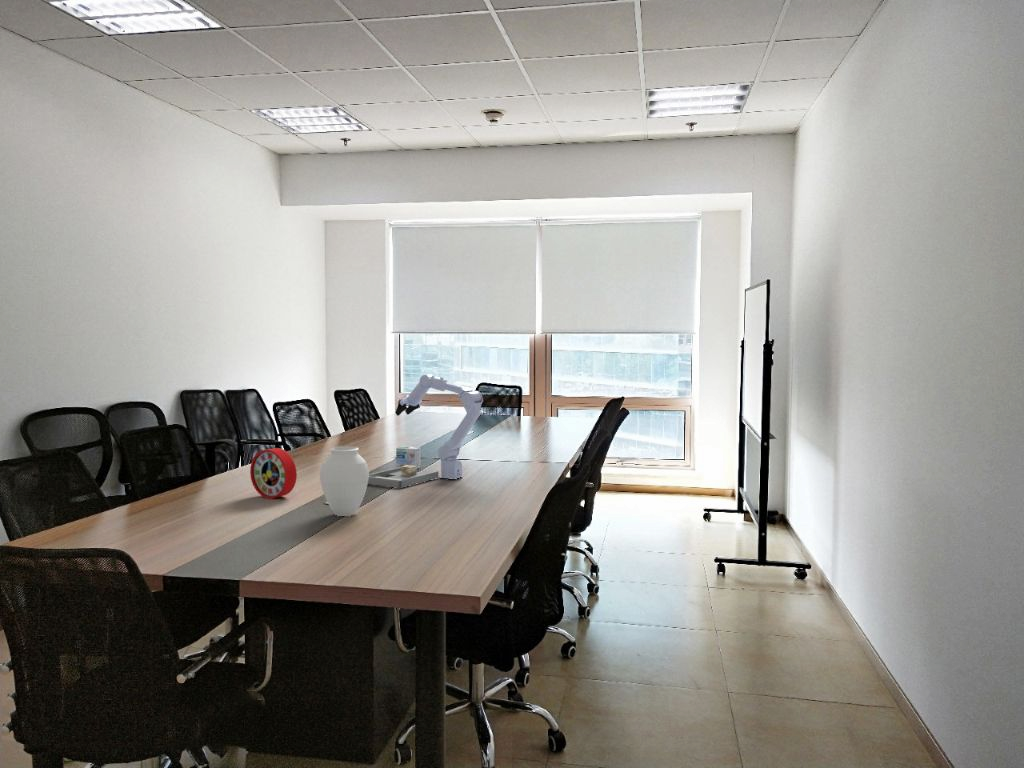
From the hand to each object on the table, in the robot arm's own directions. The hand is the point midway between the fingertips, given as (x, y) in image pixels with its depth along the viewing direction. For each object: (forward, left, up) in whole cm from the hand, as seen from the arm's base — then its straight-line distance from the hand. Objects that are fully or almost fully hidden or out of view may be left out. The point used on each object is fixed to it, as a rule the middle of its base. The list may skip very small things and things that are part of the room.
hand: (401, 413), depth 372 cm
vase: (-37, +79, -29) cm, 92 cm away
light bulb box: (+5, -11, -29) cm, 31 cm away
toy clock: (+9, +72, -29) cm, 78 cm away
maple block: (-13, +11, -27) cm, 32 cm away
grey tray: (-13, +17, -29) cm, 36 cm away
